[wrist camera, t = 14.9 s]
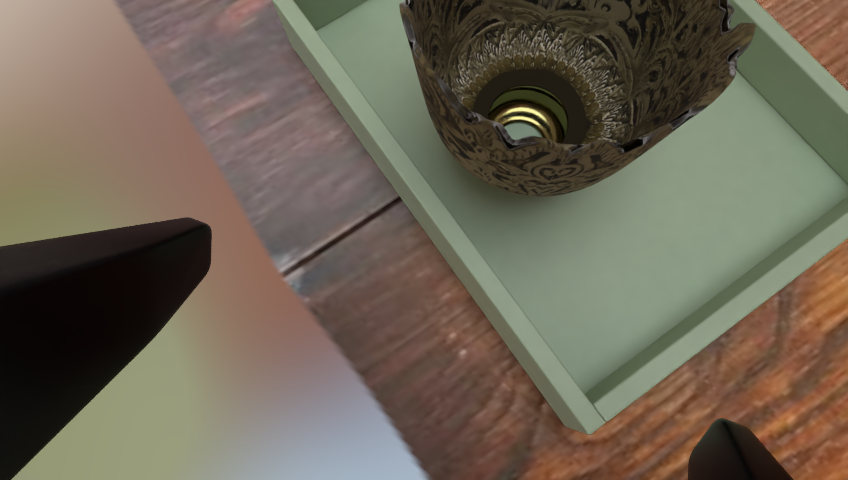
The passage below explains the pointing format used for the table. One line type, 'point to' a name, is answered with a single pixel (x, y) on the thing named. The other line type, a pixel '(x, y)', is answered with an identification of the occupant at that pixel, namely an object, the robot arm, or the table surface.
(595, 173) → the ornate lamp shade
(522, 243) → the tray
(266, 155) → the table surface
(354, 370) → the table surface
